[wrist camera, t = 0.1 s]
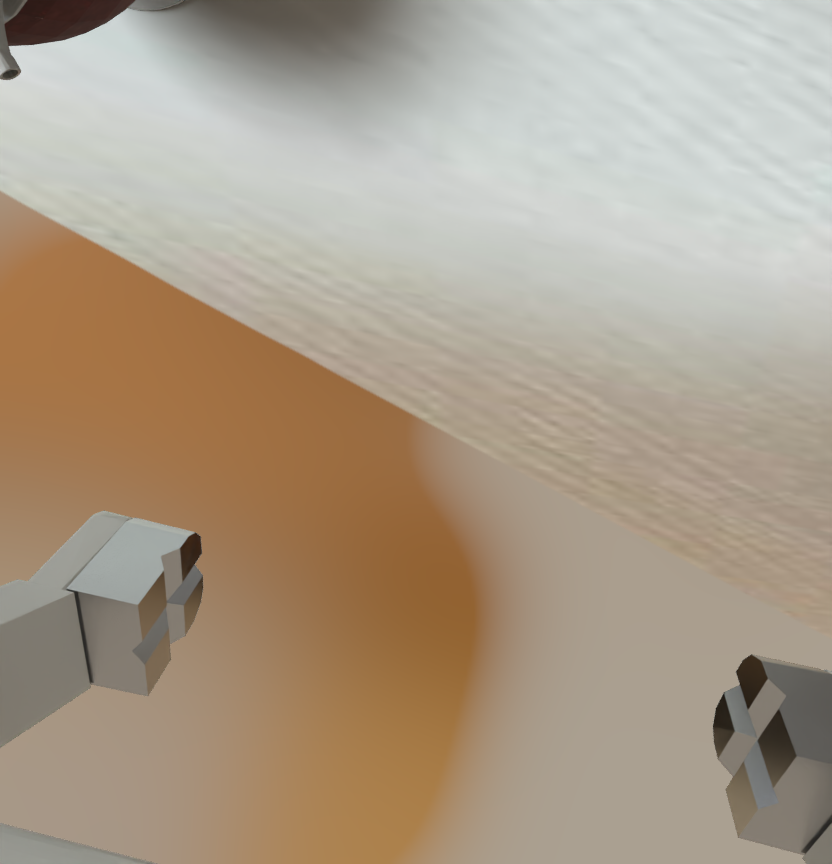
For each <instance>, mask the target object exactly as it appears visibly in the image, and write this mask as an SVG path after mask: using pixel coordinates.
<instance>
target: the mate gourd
mask: <svg viewBox="0 0 832 864" xmlns="http://www.w3.org/2000/svg"><path fill="white" fill-rule="evenodd" d="M183 1H185V0H0V79H3V80H10V79H13V78H15V77H17V76H18V75H19V74H20V73H21V70H20V68H19V66H18V64H17V62H16V61H15V59H14V58H13V56H12V55H11V53H10V50H9V46H18V45H35V44H41V43H48V42H55V41H61V40H66V39H69V38H72V37H75V36H78V35H81V34H84V33H87V32H89V31H91V30H93V29H95V28H97V27H99V26H101V25H103V24H105V23H107V22H108V21H110V20H111V19H113V18H114V17H115V16H117V15H118V14H120V13H121V12H123V11H124V10H125V9H127V8H130V9H135V10H140V11H142V10H160V9H165V8H168V7H171V6H174V5H177V4H180V3H182V2H183Z"/></svg>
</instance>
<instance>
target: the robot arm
mask: <svg viewBox="0 0 832 864" xmlns="http://www.w3.org/2000/svg"><path fill="white" fill-rule="evenodd" d="M201 554H202V547H201V536H199V535H198V534H197V533H195V532H191V531H187V530H183V529H179V528H175V527H171V526H167V525H163V524H159V523H155V522H150V521H147V520H143V519H138V518H131V517H127V516H123V515H119V514H115V513H111V512H107V511H102V512H99V513H96V514H94V515H92V516H91V518H90V519H89V520H88V521H86V523H85V524H84V525H83V526H82V527H81V528H80V529H79V530H78V531H77V532H76V533H75V534H74V535H73V536H72V537H71V538H70V539H69V540H68V541H67V542H66V543H65V544H64V545H63V546H62V547H61V548H60V549H59V550H58V551H57V552H56V553H55V554H54V555H53V556H52V557H51V558H50V559H49V560H48V561H47V562H46V563H45V564H44V565H43V566H42V567H41V568H40V569H39V570H38V571H37V572H36V573H35V574H34V575H33V577H32V578H30V579H29V580H28V581H23V580H15V581H12V582H10V583H7V584H5V585H2V586H0V748H1V747H2V746H4V745H5V744H7V743H8V742H10V741H11V740H13V739H14V738H16V737H17V736H19V735H20V734H22V733H23V732H25V731H26V730H28V729H29V728H31V727H32V726H34V725H35V724H37V723H38V722H40V721H42V720H43V719H45V718H46V717H48V716H49V715H50V714H52V713H54V712H55V711H56V710H58V709H60V708H61V707H62V706H64V705H66V704H67V703H69V702H70V701H72V700H73V699H75V698H76V697H78V696H79V695H80V694H82V693H84V692H85V691H87V690H88V689H90V687H91V685H96V686H101V687H106V688H111V689H116V690H120V691H125V692H130V693H135V694H139V695H145V696H149V694H150V692H151V691H152V689H153V688H154V686H155V684H156V683H157V681H158V679H159V678H160V676H161V675H162V673H163V671H164V670H165V668H166V666H167V665H168V663H169V662H170V660H171V653H170V644H171V643H173V642H175V641H177V640H179V639H180V638H182V637H184V636H186V634H187V632H188V630H189V629H190V627H191V625H192V624H193V622H194V620H195V617H196V614H197V611H198V608H199V606H200V603H201V598H202V592H203V575H202V574H201V572H200V571H199V570H198V569H197V567H196V566H195V563H196V561H197V560H198V558H199V557H200V555H201ZM736 674H737V677H738V680H739V683H740V685H739V686H736V687H734V688H732V689H730V690H728V691H726V692H724V694H723V695H722V697H721V699H720V701H719V703H718V705H717V707H716V711H715V717H714V723H713V736H714V745H715V749H716V753H717V757H718V760H719V761H720V762H721V763H722V765H723V766H724V767H725V768H726V769H727V770H728V771H729V773H730V774H731V775H732V776H733V778H732V780H731V781H730V783H729V785H728V786H727V788H726V793H727V797H728V801H729V804H730V808H731V812H732V816H733V820H734V823H735V827H736V831H737V835H738V838H742V839H745V840H749V841H753V842H756V843H761V844H764V845H768V846H771V847H775V848H779V849H783V850H787V851H790V852H794V853H798V854H802V855H804V856H803V860H804V861H805V863H806V864H832V671H829V670H821V669H818V668H813V667H808V666H804V665H799V664H795V663H790V662H785V661H780V660H776V659H771V658H766V657H761V656H757V655H752V654H751V655H750V656H748V657H747V658H745V659H744V660H743V661H742V663H741V664H740V666H739V667H738V669H737V671H736ZM90 684H91V685H90ZM0 864H158V863H154V862H149V861H146V860H142V859H138V858H134V857H130V856H127V855H123V854H119V853H115V852H111V851H107V850H103V849H99V848H95V847H92V846H88V845H84V844H80V843H76V842H72V841H68V840H64V839H61V838H56V837H53V836H49V835H45V834H41V833H37V832H33V831H29V830H26V829H22V828H17V827H14V826H10V825H6V824H2V823H0Z"/></svg>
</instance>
